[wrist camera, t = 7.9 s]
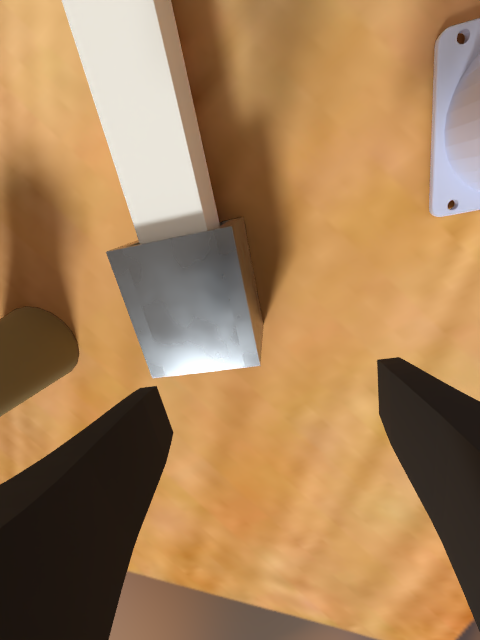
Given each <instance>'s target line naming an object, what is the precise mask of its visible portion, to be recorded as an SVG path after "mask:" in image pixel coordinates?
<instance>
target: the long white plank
mask: <svg viewBox="0 0 480 640" xmlns="http://www.w3.org/2000/svg"><path fill="white" fill-rule="evenodd" d="M62 3H63V6H64V9H65V12H66V15H67V19H68V22H69V25H70V28H71V31H72V34H73V37H74V40H75V43H76V47H77V50H78V53H79V56H80V59H81V62H82V65H83V68H84V71H85V75H86V78H87V81H88V84H89V87H90V90H91V93H92V96H93V99H94V103H95V106H96V109H97V112H98V115H99V118H100V121H101V124H102V127H103V131H104V134H105V137H106V140H107V143H108V146H109V149H110V152H111V155H112V159H113V162H114V165H115V168H116V171H117V174H118V177H119V180H120V183H121V187H122V190H123V193H124V196H125V199H126V202H127V205H128V208H129V212H130V215H131V218H132V221H133V224H134V227H135V230H136V233H137V236H138V240H139V243H140V244H143V243H148V242H153V241H158V240H163V239H168V238H173V237H178V236H183V235H188V234H192V233H197V232H202V231H207V230H212V229H216V228H218V227H219V226H220V223H219V219H218V214H217V209H216V205H215V200H214V196H213V191H212V186H211V182H210V177H209V173H208V168H207V163H206V159H205V154H204V150H203V145H202V140H201V136H200V131H199V127H198V122H197V117H196V113H195V108H194V104H193V99H192V94H191V90H190V85H189V81H188V76H187V71H186V67H185V62H184V58H183V53H182V48H181V44H180V39H179V35H178V30H177V25H176V21H175V16H174V12H173V7H172V2H171V0H62Z"/></svg>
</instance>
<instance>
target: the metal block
mask: <svg viewBox="0 0 480 640" xmlns="http://www.w3.org/2000/svg"><path fill="white" fill-rule="evenodd" d="M219 223H220V226H219V227H218V228H216V229H212V230H207V231H202V232H197V233H192V234H188V235H183V236H178V237H173V238H168V239H163V240H158V241H153V242H148V243H143V244H140V243H139V240H138V241H135V242H132V243H129V244H127V245H124V246H121V247H118V248H115V249H112V250H110V251H107V252H106V253H107V256H108V259H109V261H110V264H111V267H112V270H113V272H114V275H115V278H116V280H117V283H118V286H119V289H120V291H121V294H122V297H123V300H124V302H125V305H126V308H127V310H128V313H129V316H130V319H131V321H132V324H133V327H134V330H135V332H136V335H137V338H138V340H139V343H140V346H141V349H142V351H143V354H144V357H145V360H146V362H147V365H148V368H149V370H150V373H151V376H152V378H160V377H168V376H177V375H185V374H194V373H202V372H211V371H219V370H228V369H236V368H245V367H253V366H260V361H261V349H262V336H263V319H262V314H261V309H260V303H259V298H258V293H257V287H256V282H255V277H254V271H253V266H252V261H251V255H250V250H249V245H248V239H247V234H246V229H245V223H244V218H243V217H241V218H236V219H231V220H226V221H222V222H219Z"/></svg>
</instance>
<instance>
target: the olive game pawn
mask: <svg viewBox="0 0 480 640" xmlns="http://www.w3.org/2000/svg"><path fill="white" fill-rule="evenodd" d="M78 357H79V350H78V344H77V341H76V339H75V337H74V335H73V333H72V331H71V330H70V329H69V328H68V327H67V326H66V324H65V323H64V322H63V321H62V320H60V319H59V318H58V317H56V316H55V315H53V314H52V313H50V312H47V311H45V310H43V309H40V308H34V307H23V308H18V309H15V310H14V311H12V312H10V313H9V314H7V315H6V316H4V317H3V318H1V319H0V416H2V415H3V414H5V413H6V412H8V411H10V410H11V409H13V408H14V407H16V406H17V405H19V404H21V403H22V402H24V401H25V400H27V399H28V398H30V397H32V396H33V395H35V394H36V393H38V392H39V391H41V390H43V389H44V388H46V387H47V386H49V385H50V384H52V383H54V382H55V381H57V380H58V379H60V378H61V377H63V376H65V375H66V374H68V373H69V372H71V371H72V370H73V368H74V367H75V366H76V364H77V361H78Z"/></svg>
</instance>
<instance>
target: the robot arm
mask: <svg viewBox="0 0 480 640" xmlns="http://www.w3.org/2000/svg"><path fill="white" fill-rule="evenodd" d="M458 33H462V34H463V35H464V37H465V41H464V43H463V44H459V43H458V42H457V35H458ZM451 200H453V201H454V206H453V208H452V209H450V210H449V209H448V207H447V206H448V203H449V202H450V201H451ZM475 210H480V18H478V19H474V20H471V21H467V22H464V23H460V24H457V25H453V26H450V27H448V28H446V29H445V30H444V31H443V32H442V33H441V34H440V35H439V36H438V38H437V40H436V43H435V50H434V80H433V109H432V138H431V167H430V197H429V211H430V213H431V214H432V215H433V216H436V217H443V216H448V215H454V214H459V213H464V212H470V211H475ZM377 365H378V393H379V415H380V417H381V420H382V423H383V425H384V428H385V431H386V433H387V436H388V438H389V441H390V443H391V446H392V447H393V449H394V451H395V453H396V455H397V457H398V459H399V461H400V463H401V465H402V467H403V468H404V470H405V472H406V474H407V476H408V478H409V480H410V482H411V483H412V485H413V487H414V489H415V491H416V493H417V495H418V496H419V498H420V500H421V502H422V504H423V506H424V508H425V510H426V511H427V513H428V515H429V517H430V519H431V521H432V523H433V525H434V527H435V529H436V531H437V533H438V535H439V537H440V539H441V541H442V543H443V546H444V548H445V550H446V553H447V555H448V557H449V560H450V562H451V564H452V567H453V569H454V571H455V574H456V576H457V578H458V581H459V583H460V585H461V588H462V590H463V592H464V595H465V597H466V600H467V602H468V605H469V607H470V609H471V612H472V614H473V617H474V619H475V621H476V624H477V626H478V629H479V631H480V401H478V400H476V399H474V398H472V397H470V396H468V395H466V394H464V393H462V392H460V391H459V390H457V389H455V388H453V387H451V386H449V385H448V384H446V383H444V382H442V381H440V380H439V379H437V378H435V377H433V376H432V375H430V374H428V373H426V372H424V371H423V370H421V369H419V368H418V367H416V366H414V365H412V364H410V363H409V362H407V361H405V360H403V359H401V358H399V357H397V358H389V359H381V360H377ZM172 436H173V430H172V428H171V425H170V422H169V419H168V417H167V414H166V411H165V408H164V405H163V403H162V400H161V397H160V394H159V392H158V389H157V386H154V387H145V388H140V389H138V390H136V391H135V392H133V393H132V394H130V395H129V396H127V397H126V398H125V399H123V400H122V401H121V402H119V403H118V404H117V405H115V406H114V407H113V408H111V409H110V410H109V411H107V412H106V413H105V414H104V415H102V416H101V417H100V418H98V419H97V420H96V421H94V422H93V423H92V424H90V425H89V426H88V427H86V428H85V429H84V430H82V431H81V432H79V433H78V434H77V435H75V436H74V437H73V438H71V439H70V440H68V441H67V442H66V443H64V444H63V445H61V446H60V447H59V448H57V449H56V450H54V451H53V452H51V453H50V454H49V455H47V456H46V457H44V458H43V459H41V460H40V461H38V462H36V463H35V464H33V465H32V466H30V467H29V468H27V469H25V470H24V471H22V472H21V473H19V474H17V475H16V476H14V477H13V478H11V479H9V480H8V481H6V482H4V483H2V484H1V485H0V640H108V639H109V635H110V632H111V627H112V624H113V620H114V616H115V613H116V608H117V605H118V601H119V597H120V594H121V589H122V586H123V583H124V579H125V576H126V572H127V569H128V566H129V562H130V559H131V555H132V552H133V548H134V546H135V543H136V540H137V537H138V534H139V531H140V529H141V526H142V524H143V521H144V518H145V516H146V513H147V511H148V508H149V506H150V503H151V500H152V498H153V495H154V493H155V490H156V488H157V485H158V482H159V480H160V477H161V475H162V472H163V469H164V467H165V464H166V461H167V457H168V453H169V449H170V445H171V441H172Z"/></svg>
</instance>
